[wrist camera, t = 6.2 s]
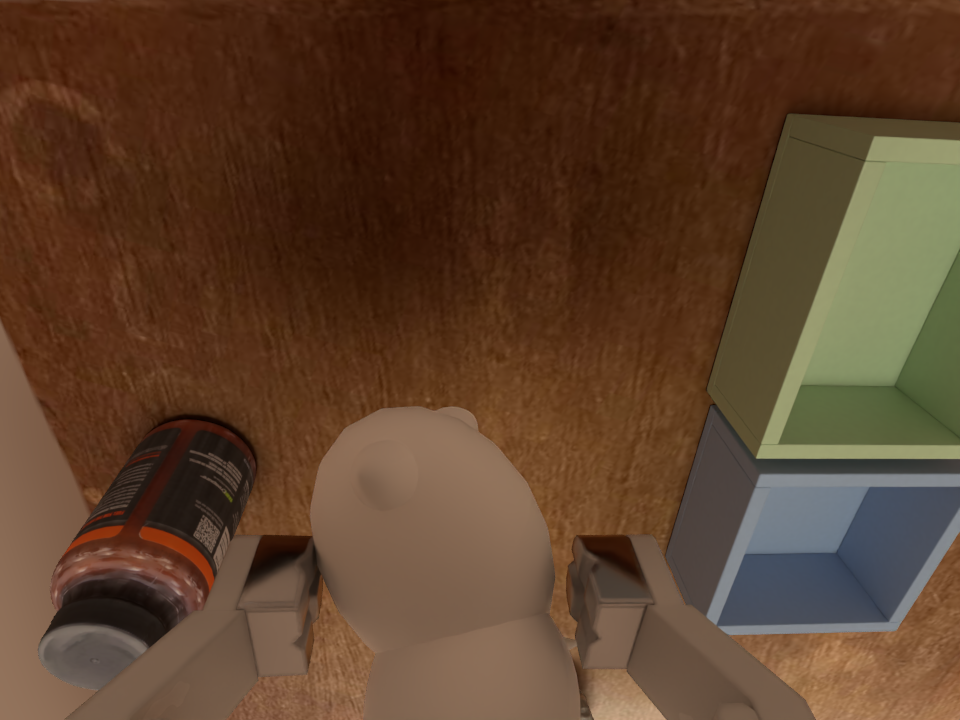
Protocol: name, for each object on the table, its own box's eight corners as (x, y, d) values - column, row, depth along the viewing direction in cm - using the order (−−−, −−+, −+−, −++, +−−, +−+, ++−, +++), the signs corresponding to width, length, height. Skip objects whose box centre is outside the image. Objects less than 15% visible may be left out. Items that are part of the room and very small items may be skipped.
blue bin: (710, 404, 31) (760, 474, 26) (912, 406, 32) (997, 474, 27) (664, 556, 37) (699, 636, 32) (837, 553, 38) (896, 631, 33)
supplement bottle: (124, 472, 31) (-20, 678, 21) (168, 394, 29) (29, 584, 19) (231, 516, 33) (144, 723, 23) (279, 446, 31) (206, 643, 21)
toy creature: (404, 625, 15) (387, 949, 10) (270, 381, 12) (123, 695, 6) (573, 585, 15) (649, 898, 10) (494, 318, 11) (548, 594, 6)
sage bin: (786, 113, 24) (874, 135, 19) (1023, 125, 25) (1164, 150, 20) (705, 390, 31) (755, 459, 26) (894, 392, 32) (976, 459, 27)
